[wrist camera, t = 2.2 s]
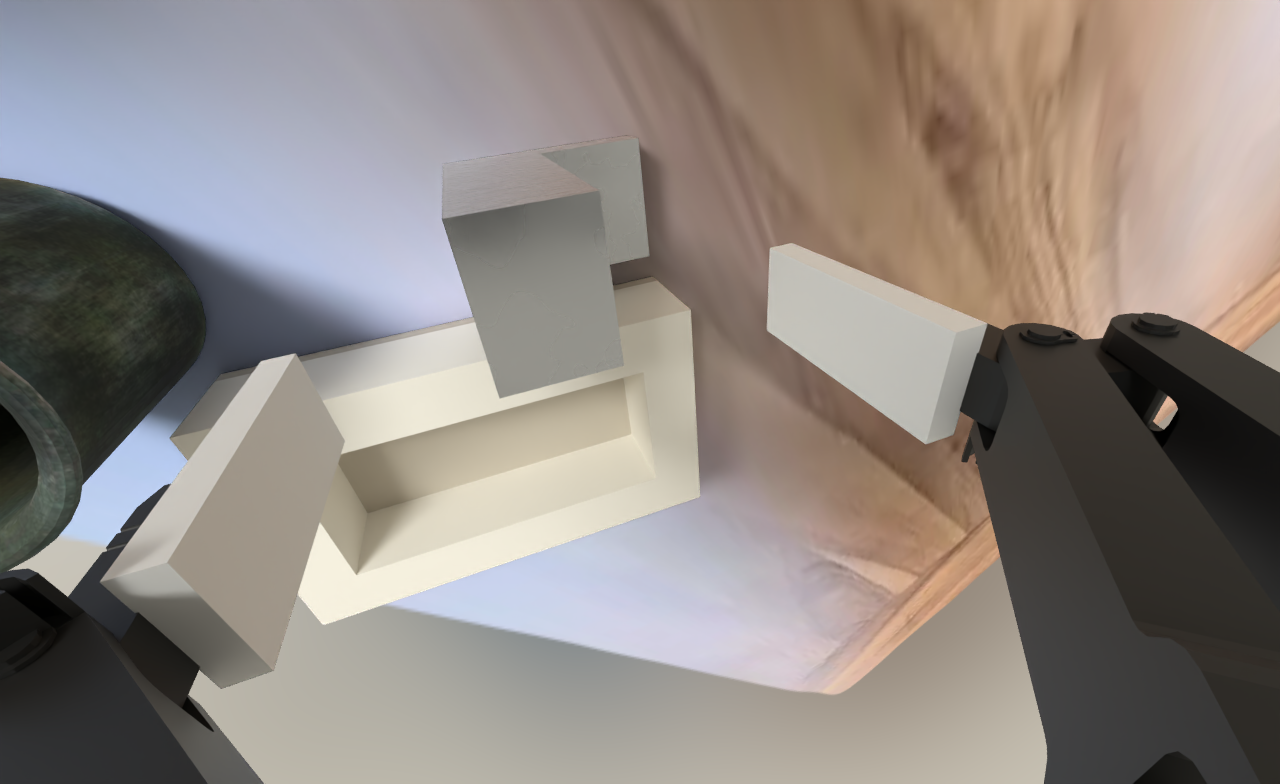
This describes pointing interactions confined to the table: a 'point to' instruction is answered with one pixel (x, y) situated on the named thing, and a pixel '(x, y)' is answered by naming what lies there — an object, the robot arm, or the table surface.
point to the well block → (484, 452)
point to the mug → (78, 351)
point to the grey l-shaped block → (546, 255)
